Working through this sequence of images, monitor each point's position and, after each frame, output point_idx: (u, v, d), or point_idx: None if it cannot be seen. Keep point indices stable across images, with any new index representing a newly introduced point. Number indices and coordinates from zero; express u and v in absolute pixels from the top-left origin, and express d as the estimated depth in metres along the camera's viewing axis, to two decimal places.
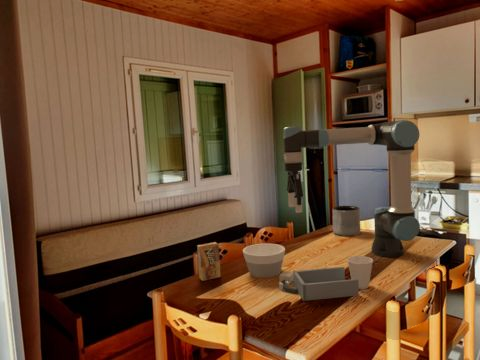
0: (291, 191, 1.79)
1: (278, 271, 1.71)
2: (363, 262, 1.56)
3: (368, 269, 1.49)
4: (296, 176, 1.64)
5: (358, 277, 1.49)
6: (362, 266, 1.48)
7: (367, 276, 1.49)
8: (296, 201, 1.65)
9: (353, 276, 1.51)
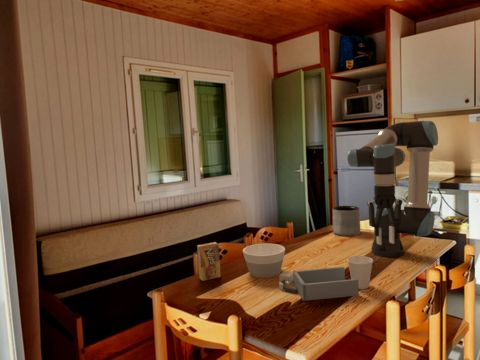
0: (392, 224, 1.51)
1: (278, 271, 1.71)
2: (363, 262, 1.56)
3: (368, 269, 1.49)
4: (368, 204, 1.50)
5: (358, 278, 1.49)
6: (362, 266, 1.48)
7: (367, 276, 1.49)
8: None
9: (353, 276, 1.51)
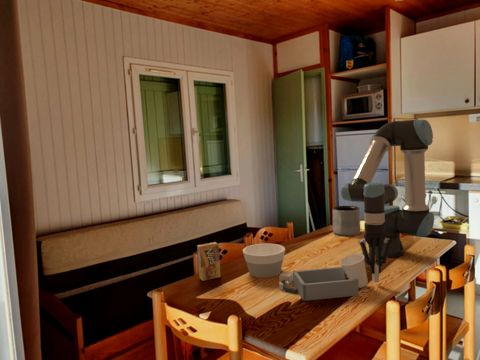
0: (377, 262, 1.52)
1: (278, 271, 1.71)
2: (356, 259, 1.55)
3: (362, 267, 1.48)
4: None
5: (355, 277, 1.49)
6: (355, 266, 1.47)
7: (363, 274, 1.49)
8: None
9: (349, 277, 1.51)
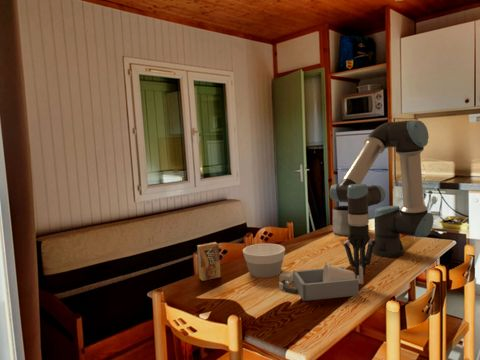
0: (361, 264, 1.52)
1: (278, 271, 1.71)
2: None
3: (336, 275, 1.49)
4: (343, 245, 1.51)
5: None
6: None
7: (342, 276, 1.49)
8: None
9: None
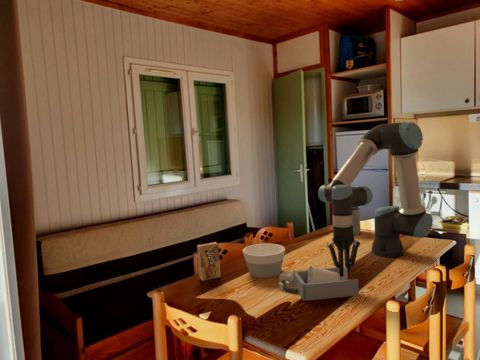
0: (346, 265, 1.51)
1: (278, 271, 1.71)
2: None
3: (320, 276, 1.48)
4: (328, 246, 1.50)
5: None
6: None
7: (327, 278, 1.48)
8: None
9: None
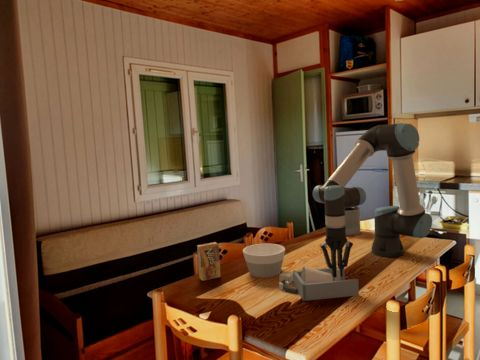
0: (339, 266, 1.51)
1: (278, 271, 1.71)
2: None
3: (313, 277, 1.48)
4: (321, 247, 1.50)
5: None
6: None
7: (319, 279, 1.48)
8: None
9: None
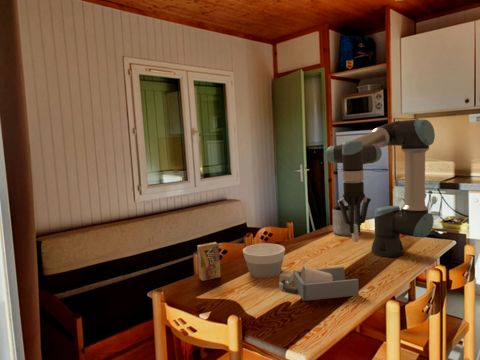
0: (356, 222, 1.51)
1: (278, 271, 1.71)
2: None
3: (312, 277, 1.48)
4: (338, 203, 1.50)
5: None
6: None
7: (319, 279, 1.48)
8: None
9: None
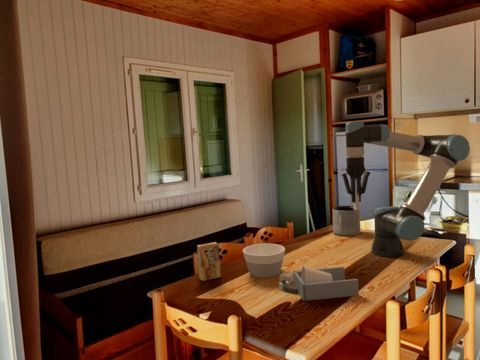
0: (358, 192, 1.72)
1: (278, 271, 1.71)
2: None
3: (312, 277, 1.48)
4: (342, 176, 1.71)
5: None
6: None
7: (319, 279, 1.48)
8: None
9: None
